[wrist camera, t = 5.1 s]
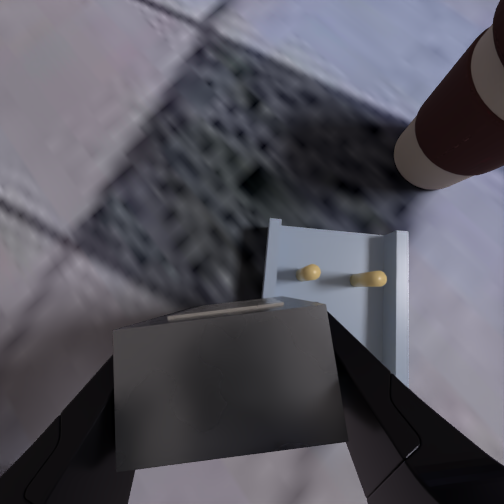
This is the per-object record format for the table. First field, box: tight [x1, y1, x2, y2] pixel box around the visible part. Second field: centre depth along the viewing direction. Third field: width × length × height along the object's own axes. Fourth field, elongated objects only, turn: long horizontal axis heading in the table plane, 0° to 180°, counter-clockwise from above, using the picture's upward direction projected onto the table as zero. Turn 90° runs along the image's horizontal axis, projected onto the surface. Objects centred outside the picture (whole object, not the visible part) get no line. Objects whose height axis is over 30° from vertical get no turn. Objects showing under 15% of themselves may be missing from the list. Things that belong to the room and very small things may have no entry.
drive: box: [113, 296, 349, 472], centre depth 11 cm, size 4×6×10 cm, turn 97°
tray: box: [261, 218, 409, 388], centre depth 20 cm, size 16×12×5 cm
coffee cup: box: [394, 0, 504, 190], centre depth 18 cm, size 10×10×15 cm
